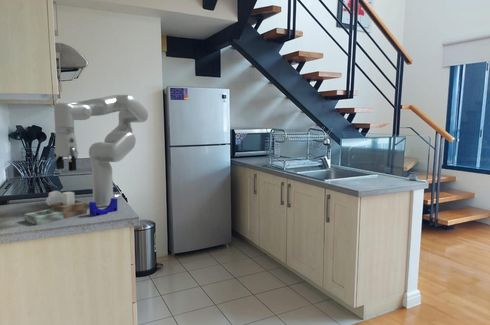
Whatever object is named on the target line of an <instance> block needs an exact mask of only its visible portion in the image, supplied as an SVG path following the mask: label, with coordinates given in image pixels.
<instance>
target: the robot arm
mask: <svg viewBox="0 0 490 325" xmlns="http://www.w3.org/2000/svg"><path fill="white" fill-rule="evenodd" d="M116 112H118V125H117V126H116V127H115V128H114V129H112V130H111V131H110V132H108V134H107V135H106V136H105V138H104V142H103V141H102V142H101V141H100V142H99V141H98V142H94V143H92V144H91V145H90V147H89V149H88V156H89V160H90V164H91V180H92V181H91V182H92V201H91V202H95V203H96V206H97V208H103V207H105V208H106V207H107V206H108V205H109V204H110V201H111V198H116V199H119V198H122V194H121V193H118V194H114V188H113V187H114V183H113V180H114V179H113V168H112V165H111V163H118V162H120V161H121V160H123V159H124V158H125V157H126V156H127V155H128V154H129V153H130V152H132V150H133V149H134V148H135V145H136V142H137V140H136V136H135V134H134V133H133V128H132V123H144V122H146V121H147V120H148V118H149V111H148V109H147V108H146V107H145V106H144V105H143V104H142V103H141V102H139V101H138V99H136V98H135V97H134V96H133V95H130V94H114V95H108V96H104V97H97V98H91V99H86V100H79V101H74V102H55V104H54V105H53V113H54V114H53V115H54V118H53V119H54V134H55V138H54V139H55V143H54V144H55V145H54V146H55V147H54V149H53V154H54V157H55V158H54V159H55V165H56V168H55V169H56V170H63V169H65V162H64V161H65V160H64V158H67V159H68V171H69V172H72V171H73V172H74V171H77V161H78V155H79V152H78V147H77V146H78V144H77V140H76V135H75V121H86V120H89V119H90V118H91V117H99V116H105V115H109V114H113V113H116Z"/></svg>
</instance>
